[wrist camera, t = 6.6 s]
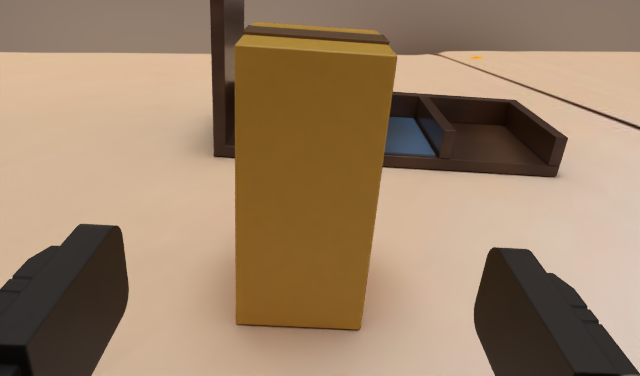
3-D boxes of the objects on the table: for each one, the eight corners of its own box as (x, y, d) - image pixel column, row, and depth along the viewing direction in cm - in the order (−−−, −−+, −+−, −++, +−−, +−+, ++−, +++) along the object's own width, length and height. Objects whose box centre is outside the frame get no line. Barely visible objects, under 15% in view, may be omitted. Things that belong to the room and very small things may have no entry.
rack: (213, 156, 32) (209, -8, 28) (234, 114, 40) (233, -16, 36) (556, 177, 33) (603, 22, 29) (507, 132, 41) (538, 6, 37)
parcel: (235, 324, 18) (234, 40, 14) (251, 249, 22) (253, 18, 18) (360, 330, 18) (398, 51, 14) (351, 255, 23) (377, 27, 18)
